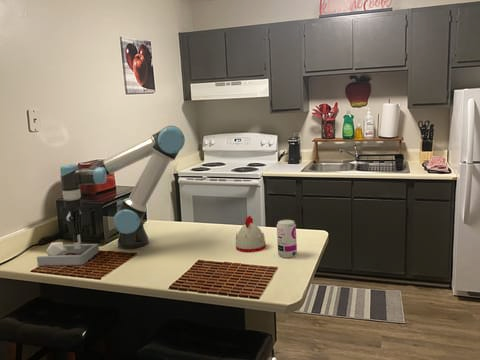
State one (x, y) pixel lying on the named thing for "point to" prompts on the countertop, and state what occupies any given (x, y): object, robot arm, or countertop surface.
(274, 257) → the countertop surface
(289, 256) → the supplement can
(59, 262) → the channel
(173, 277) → the countertop surface
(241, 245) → the kitchen timer
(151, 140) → the robot arm
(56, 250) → the die
